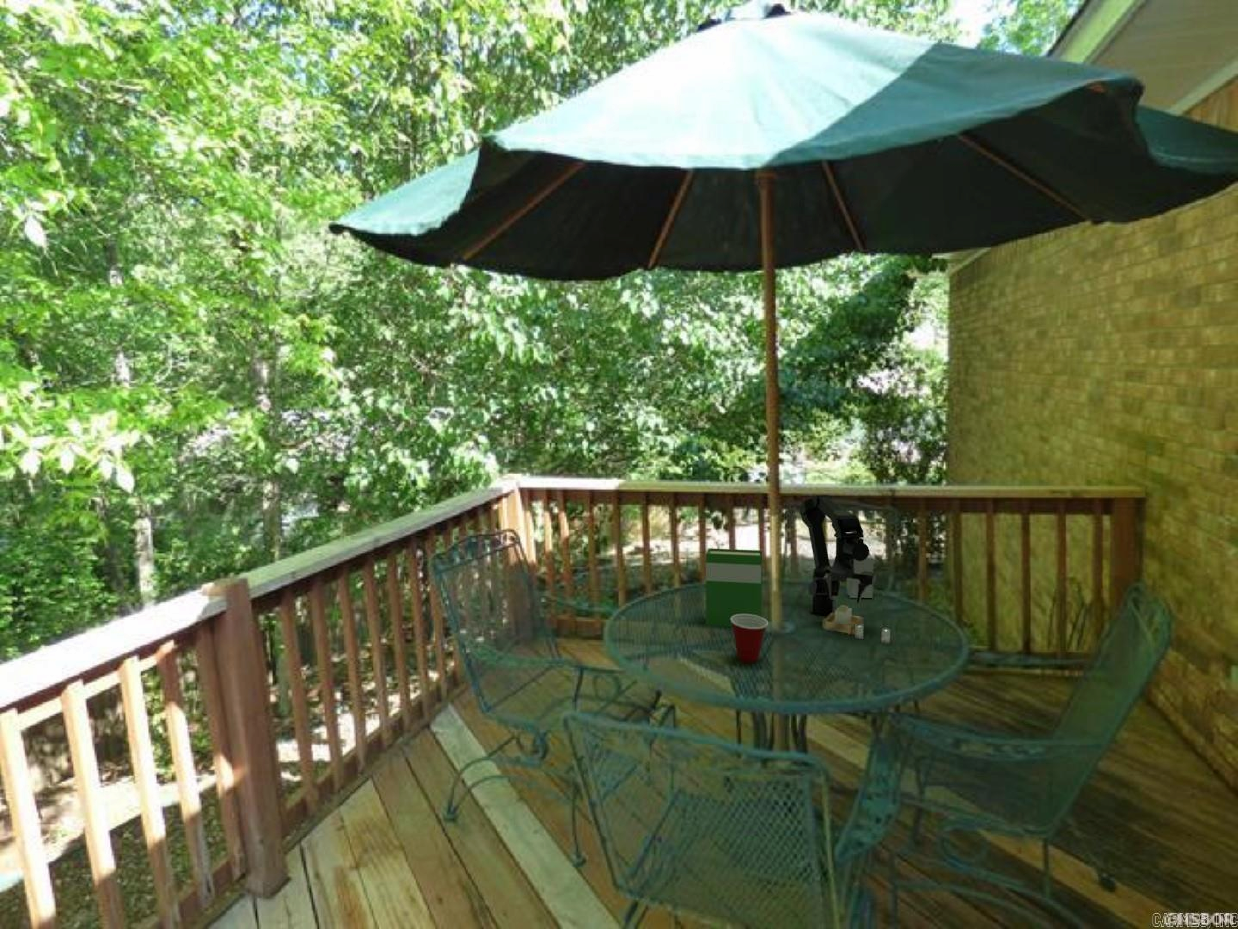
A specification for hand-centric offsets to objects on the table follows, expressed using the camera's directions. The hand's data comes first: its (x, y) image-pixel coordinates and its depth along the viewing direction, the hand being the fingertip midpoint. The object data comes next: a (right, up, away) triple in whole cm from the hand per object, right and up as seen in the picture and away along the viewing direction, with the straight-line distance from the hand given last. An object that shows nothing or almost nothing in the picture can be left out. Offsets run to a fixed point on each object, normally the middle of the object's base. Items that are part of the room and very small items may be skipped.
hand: (843, 600), depth 245 cm
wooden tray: (0, -9, +1) cm, 9 cm away
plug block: (0, -8, +1) cm, 8 cm away
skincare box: (+15, -5, +33) cm, 36 cm away
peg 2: (+9, -11, -13) cm, 19 cm away
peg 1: (+2, -10, -8) cm, 13 cm away
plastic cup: (-35, -13, -25) cm, 44 cm away
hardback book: (-35, -9, +6) cm, 36 cm away
